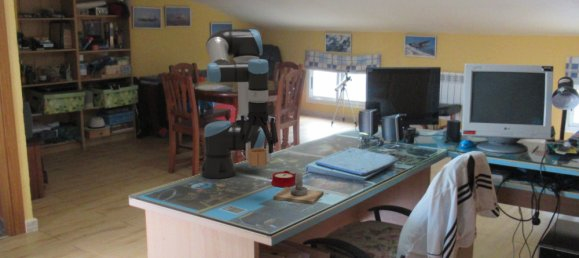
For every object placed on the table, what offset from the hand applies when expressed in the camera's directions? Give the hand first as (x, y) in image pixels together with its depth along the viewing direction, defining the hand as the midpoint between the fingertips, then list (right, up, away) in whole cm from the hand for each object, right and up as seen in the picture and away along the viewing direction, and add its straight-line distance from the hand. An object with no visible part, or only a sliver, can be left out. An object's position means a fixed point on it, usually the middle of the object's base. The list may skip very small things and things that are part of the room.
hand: (258, 160), depth 220 cm
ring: (0, -1, 0) cm, 1 cm away
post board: (+15, -15, +5) cm, 22 cm away
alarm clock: (+10, -11, +23) cm, 28 cm away
